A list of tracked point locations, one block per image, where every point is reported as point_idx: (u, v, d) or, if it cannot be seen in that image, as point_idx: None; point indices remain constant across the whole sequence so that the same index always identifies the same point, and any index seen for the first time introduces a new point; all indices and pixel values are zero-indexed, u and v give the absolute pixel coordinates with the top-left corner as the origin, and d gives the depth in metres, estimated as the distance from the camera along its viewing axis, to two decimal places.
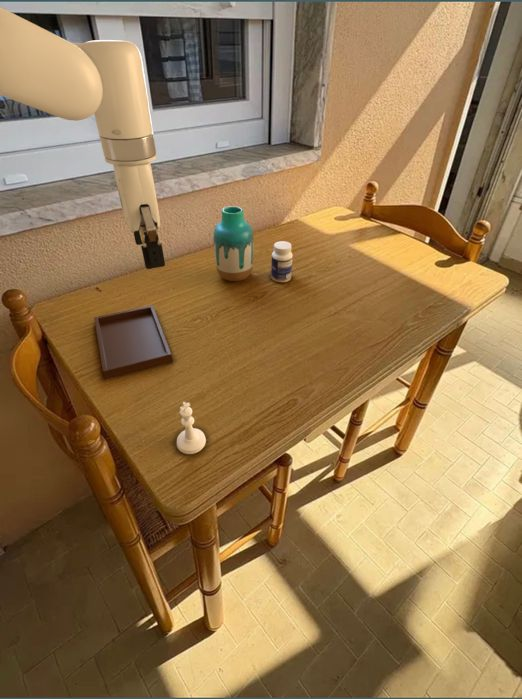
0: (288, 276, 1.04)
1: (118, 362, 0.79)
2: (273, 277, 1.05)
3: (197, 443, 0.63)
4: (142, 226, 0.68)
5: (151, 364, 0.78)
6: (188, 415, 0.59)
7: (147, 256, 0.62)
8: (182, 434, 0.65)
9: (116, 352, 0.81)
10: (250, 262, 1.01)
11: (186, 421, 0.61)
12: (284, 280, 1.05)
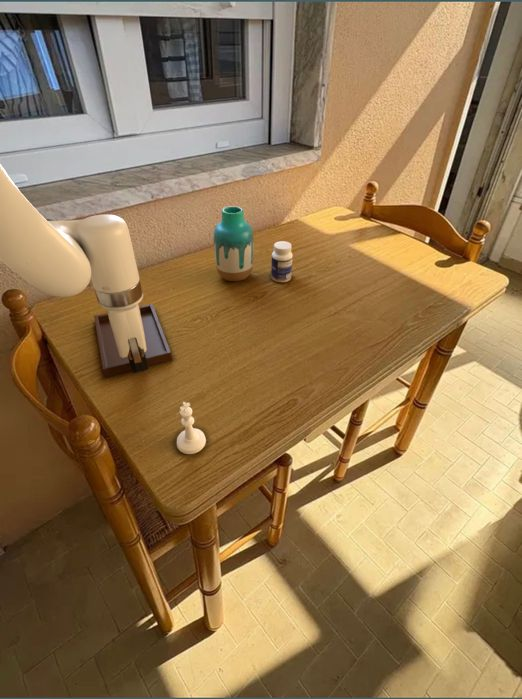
0: (288, 276, 1.04)
1: (118, 361, 0.79)
2: (273, 277, 1.05)
3: (197, 443, 0.63)
4: None
5: (151, 362, 0.79)
6: (188, 415, 0.59)
7: (133, 364, 0.74)
8: (182, 434, 0.65)
9: (116, 351, 0.82)
10: (250, 262, 1.01)
11: (186, 421, 0.61)
12: (284, 280, 1.05)
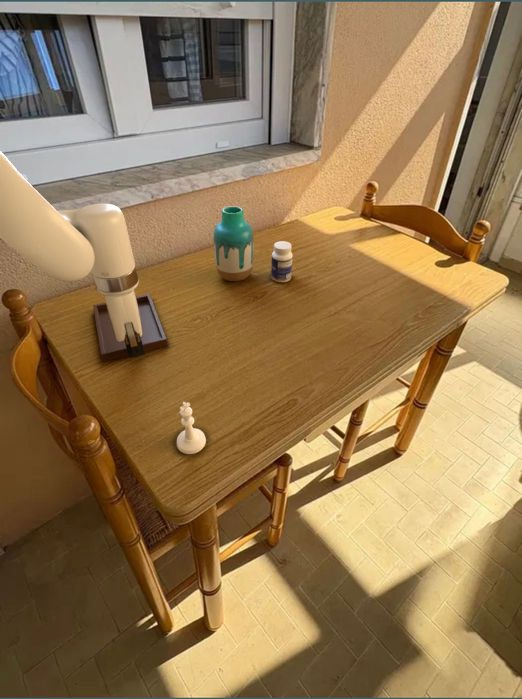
0: (288, 276, 1.04)
1: (116, 347, 0.82)
2: (273, 277, 1.05)
3: (197, 443, 0.63)
4: None
5: (147, 348, 0.82)
6: (188, 415, 0.59)
7: (130, 349, 0.78)
8: (182, 434, 0.65)
9: (114, 338, 0.85)
10: (250, 262, 1.01)
11: (186, 421, 0.61)
12: (284, 280, 1.05)
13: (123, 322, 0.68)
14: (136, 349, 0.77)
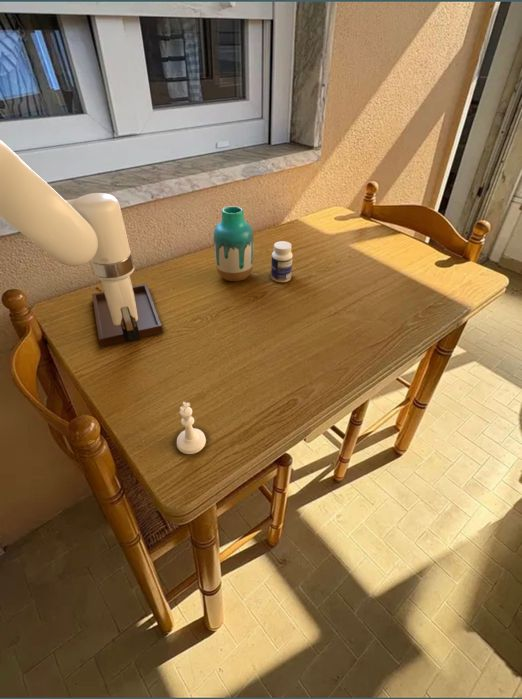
0: (288, 276, 1.04)
1: (113, 333, 0.86)
2: (273, 277, 1.05)
3: (197, 443, 0.63)
4: None
5: (143, 334, 0.86)
6: (188, 415, 0.59)
7: (126, 334, 0.81)
8: (182, 434, 0.65)
9: (112, 324, 0.89)
10: (250, 262, 1.01)
11: (186, 421, 0.61)
12: (284, 280, 1.05)
13: (119, 306, 0.72)
14: (132, 334, 0.81)
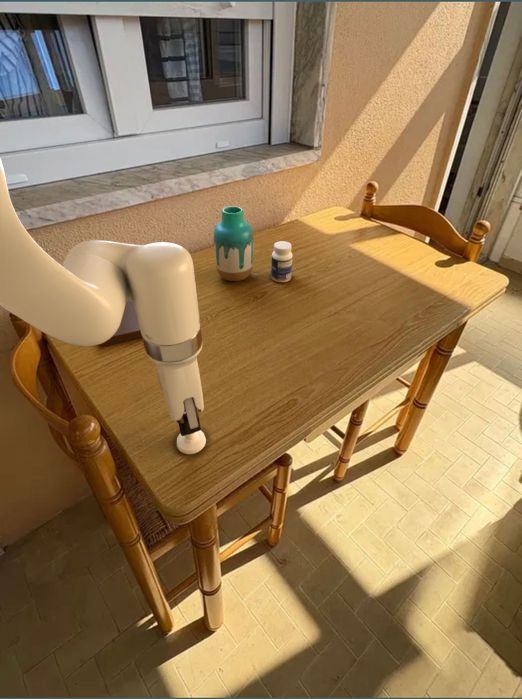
0: (288, 276, 1.04)
1: None
2: (273, 277, 1.05)
3: (197, 443, 0.63)
4: None
5: None
6: None
7: (183, 426, 0.59)
8: None
9: None
10: (250, 262, 1.01)
11: None
12: (284, 280, 1.05)
13: (182, 398, 0.50)
14: None
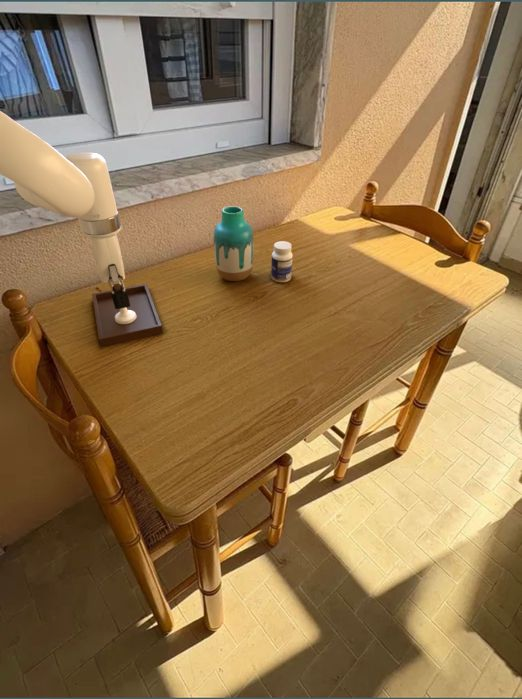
0: (288, 276, 1.04)
1: (113, 333, 0.86)
2: (273, 277, 1.05)
3: (129, 317, 0.89)
4: None
5: (143, 334, 0.86)
6: None
7: (115, 300, 0.81)
8: None
9: (112, 324, 0.89)
10: (250, 262, 1.01)
11: None
12: (284, 280, 1.05)
13: (107, 264, 0.76)
14: (122, 300, 0.81)
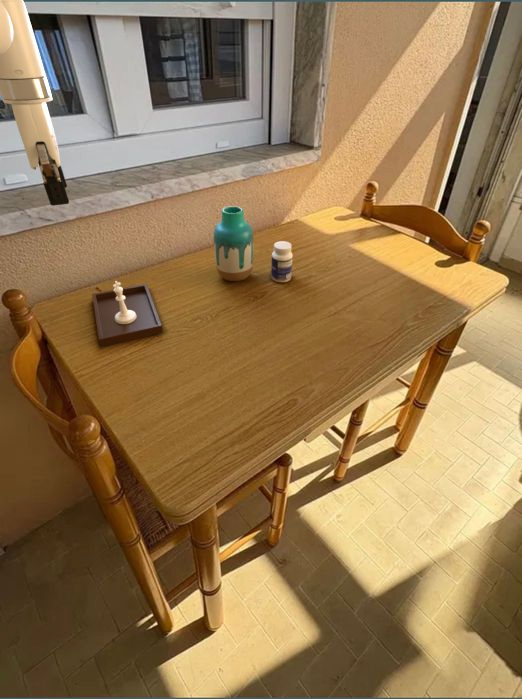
0: (288, 276, 1.04)
1: (113, 333, 0.86)
2: (273, 277, 1.05)
3: (129, 317, 0.89)
4: None
5: (143, 334, 0.86)
6: (119, 291, 0.85)
7: (50, 192, 0.69)
8: None
9: (112, 324, 0.89)
10: (250, 262, 1.01)
11: (119, 297, 0.86)
12: (284, 280, 1.05)
13: (34, 140, 0.64)
14: (57, 192, 0.69)
